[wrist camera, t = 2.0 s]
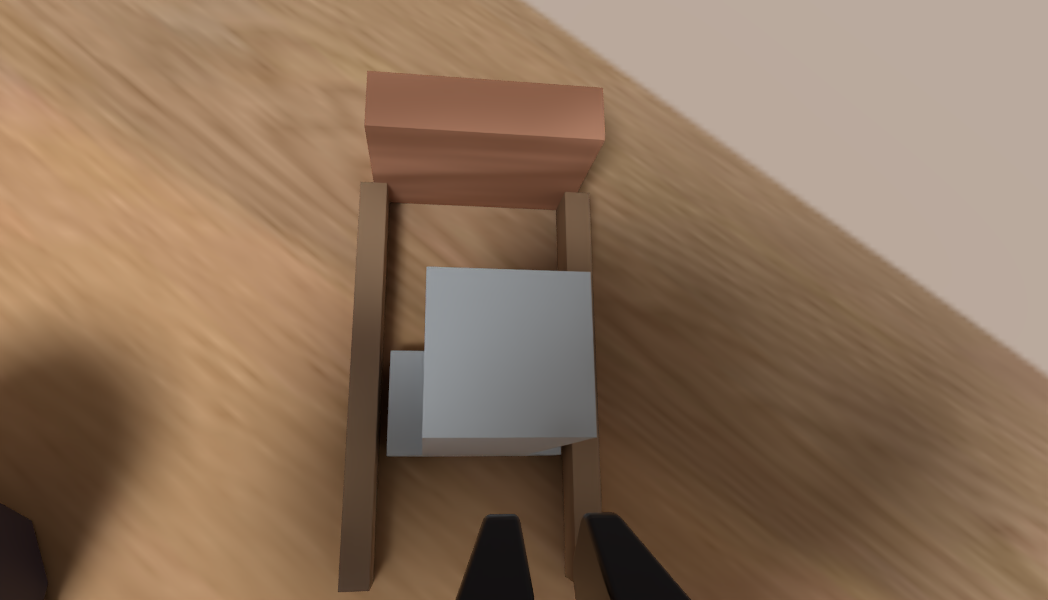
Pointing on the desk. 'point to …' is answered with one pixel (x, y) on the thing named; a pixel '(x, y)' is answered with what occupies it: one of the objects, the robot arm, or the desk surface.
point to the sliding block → (496, 366)
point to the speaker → (20, 559)
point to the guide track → (468, 180)
